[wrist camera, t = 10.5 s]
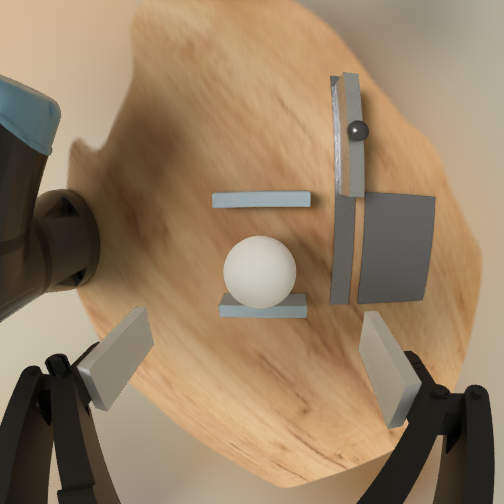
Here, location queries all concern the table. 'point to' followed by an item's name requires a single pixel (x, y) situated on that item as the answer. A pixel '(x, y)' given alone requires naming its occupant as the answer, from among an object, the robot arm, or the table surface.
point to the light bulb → (259, 272)
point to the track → (341, 226)
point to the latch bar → (350, 135)
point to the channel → (268, 198)
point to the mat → (395, 247)
